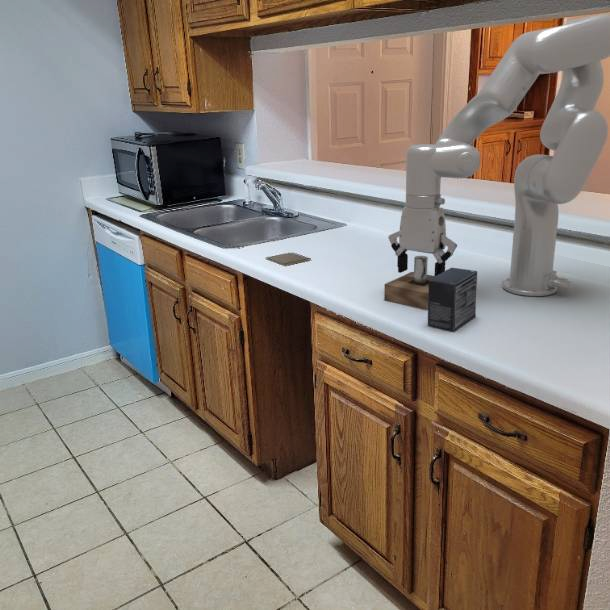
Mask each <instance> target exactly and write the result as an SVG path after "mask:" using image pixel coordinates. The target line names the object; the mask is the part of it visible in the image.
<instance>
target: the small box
mask: <svg viewBox="0 0 610 610" xmlns="http://www.w3.org/2000/svg"><path fill="white" fill-rule="evenodd" d="M477 281H478V270H473V269H466V268H464V269H463V268H458V267H450V268H448V269H445V271H444V272H442V273H441V274H439V275H437V276H435V277H433V278H431V279H429V293H428V310H427V327H431V328H433V329H438V330H442V331H448V332H453V333H455V332H456V331H457V330H459V329H460V328H461V327H463V326H465V325H466V324H467V323H468V322H470V321H472V320H473V319H475V318H476V313H477V312H476V311H477V310H476V308H477V306H476V305H477V284H478V282H477Z"/></svg>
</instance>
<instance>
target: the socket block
mask: <svg viewBox="0 0 610 610" xmlns="http://www.w3.org/2000/svg"><path fill="white" fill-rule="evenodd" d="M433 277H434V275H431V274H427V285H425V286H420V285H415V284H414V271H410V272H408V273H406V274H404V275H402V276H398V277H397V278H395V279H393V280H390V281H388V282H386V283H385V284H384V292H383V293H384V297H383V298H384V301H386V302H390V303H394V304H395V303H396V304H399V305H403V306H408V307H413V308H417V309H421V310H427V311H428V293H429V279H431V278H433Z"/></svg>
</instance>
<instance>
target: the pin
mask: <svg viewBox="0 0 610 610" xmlns="http://www.w3.org/2000/svg"><path fill="white" fill-rule="evenodd" d="M413 258H414V259H413V262H414V263H413V265H414V266H413V269H414V270H413V272H414V284H415V285H420V286H425V285H427V275H428V261H429V260H428V256H426V255H416V256H414V257H413Z"/></svg>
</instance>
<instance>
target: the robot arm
mask: <svg viewBox="0 0 610 610" xmlns="http://www.w3.org/2000/svg"><path fill="white" fill-rule="evenodd" d="M608 58H610V14H608V13H607V14H606V13H603V14H602V13H601V14H597V15H591V16H586V17H585V16H584V17H579V18H575V19H572V20H570V21H567V22H565V23H564V24H562V25H560V26H554V27H553V26H552V27H548V28H542V29H538V30H532V31H528V32H524V33H523V34H521V35H519V36H518V37H516V38H515V40H513V42H512V43H511V45H510V46H509V47H508V49H507V50H506V51H505V53H504V55H503V56H502V57H501V59H500V60H499V62H498V64H497V65H496V67H495V68H494V70H493V71H492V72H491V74H490V75H489V77H488V78H487V80H486V82H485V83H484V84H483V86H482V87H481V89H480V90H479V91H478V92H477V94H476V95H475V96H474V97H472V98H471V99H470V100H469V101H468V102H467V103H466V104H465V106H464V107H463V108H461V110H460V111H459V112H457V113H456V115H455V116H453V118H452V119H451V120H450V122H449V123H448V124H447V126H446V127H445V128H444V130H443V131H442V133H441V134H440V136H439V138H438V139H437V140H436V142H435V144H431V143H429V144H428V143H427V144H425V143H424V144H423V143H420V144H413V145H410V146H409V147H408V149H407V151H406V168H405V170H406V174H405V175H406V176H405V178H406V179H405V206H403V208H402V212H401V216H400V217H401V218H400V223H399V230H398V231H396V232H394V233H391V234H389V235H388V238H387V239H388V241H389V243H390V244H391V246H390V247H391V248H392V250H393V251H394V252H395V256H396V257H397V265H396V266H397V273H400V274H402V273H403V272H405V271H408V267H409V266H408V262H409V260H408V258H409V256H408V253H407V252H408V251H412V252H418V253H425V254H430V255H431V254H432V255H433V257H434V259H435V260H436V262H435V263H434V275H433V276H434V277H435V276H437V275H439V274H441V273H442V272H444V271H446V261H448V260H449V259H450V257H452V256H453V255H454V253H455V251H456V249H457V247H458V244H457V243H456V242H455V241H453V240H452V239H450V238H449V237H448V236H447V228H446V227H447V225H446V218H445V212H444V211H445V210H444V207H441V205H445V203H446V199H445V198H444V197H441V195H442V194H441V181H442V180H441V178H449V179H458V180H459V179H467V178H469V177H472V176H473V175H475V173H477V172H478V170H479V169H480V167H481V163H482V157H481V155H480V152H479V150H478V149H477V148H476V147H475V146H473V143H474V142H475V140H476V139H477V138H478V137H479V136H480V135H481V134H482V133H484V132H485V131H486V130H487V129H489V128H490V127H491V126H494V125H496V124H498V123H499V122H501V121H503V120H505V119H507V118H508V117H509V116H511V115H512V114H513V113H514V112H515V110H516V108H518V106H519V105H520V103H521V102H522V100H523V99H524V97H526V94H527V93H528V92H529V90H530V89H531V87H532V86H533V84H534V83H535V82H536V80H537V79H538V77H539V76H540V75H545V74H554V73H558V72H562V78H561V83H560V86H559V88H558V91H557V93H556V96H555V98H554V100H553V102H552V104H551V107H550V108H549V111H548V113H547V115H546V117H545V119H544V121H543V123H542V125H541V129H540V133H539V134H540V135H539V138H540V141H541V144H542V145H543V146H544V147H545V148H547V149H548V150H551V151H554V154H553V155H548V154H540V153H539V154H533V155H530V156H529V155H528V156H527V157H526V158H524V159H523V160H522V161H521V162H520V163H519V164H518V165H517V168H515V169H516V170H515V172H514V179H513V186H514V187H513V188H514V189H513V190H514V199H515V200H514V201H515V207H514V208H515V209H514V224H513V234H512V235H513V236H512V249H511V259H510V261H511V262H510V273H509V277H508V278H505V279H504V280H503V281H502V288H503V289H504V290H505V291H507V292H509V293H512V294H514V295H519V296H527V297H528V296H529V297H544V296H549V295H554V294H555V293H557V292H558V290H559V289H564V290H568V289H570V285H571V284H570V283H571V282H570V280H568V278H566V277H558V275H557V273H558V272H557V270H554V261H555V253H556V242H557V241H556V240H557V233H558V226H559V214H560V213H559V205H565V204H568V203H570V202H572V201H573V200H575V198H577V197H578V196H579V195H580V194H581V192H582V190H583V189H584V188H585V185H586V183H587V182H588V180H589V178H590V175H591V174H592V172H593V170H594V168H595V166H596V164H597V162H598V159H600V156H601V154H602V153H603V152H602V151H603V150H604V147H605V144H606V143H607V140H608V133H609V132H608V131H609V130H608V129H609V127H608V122H607V119H606V117H605V116H604V115H603V114H602V113H601V112H600V111H599V110H596V109H595V108H596V105H597V103H598V101H599V98H600V96H601V93H602V91H603V88H604V87H603V86H604V81H605V79H604V78H605V77H604V69H603V64H602V62H601V61H603V60H606V59H608ZM446 247H447V250H446V252H445V251H444V250H445V249H446ZM558 288H559V289H558Z"/></svg>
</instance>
